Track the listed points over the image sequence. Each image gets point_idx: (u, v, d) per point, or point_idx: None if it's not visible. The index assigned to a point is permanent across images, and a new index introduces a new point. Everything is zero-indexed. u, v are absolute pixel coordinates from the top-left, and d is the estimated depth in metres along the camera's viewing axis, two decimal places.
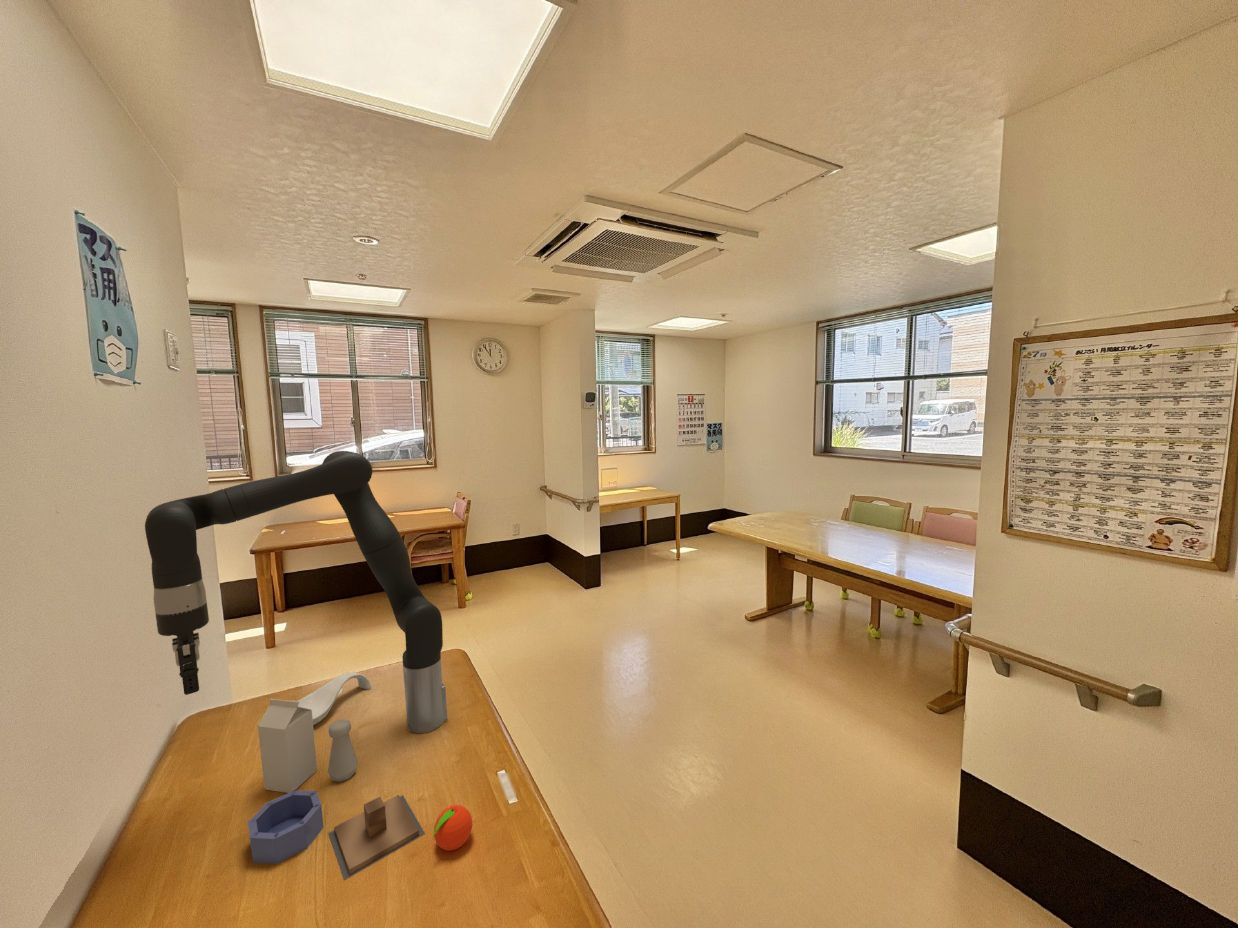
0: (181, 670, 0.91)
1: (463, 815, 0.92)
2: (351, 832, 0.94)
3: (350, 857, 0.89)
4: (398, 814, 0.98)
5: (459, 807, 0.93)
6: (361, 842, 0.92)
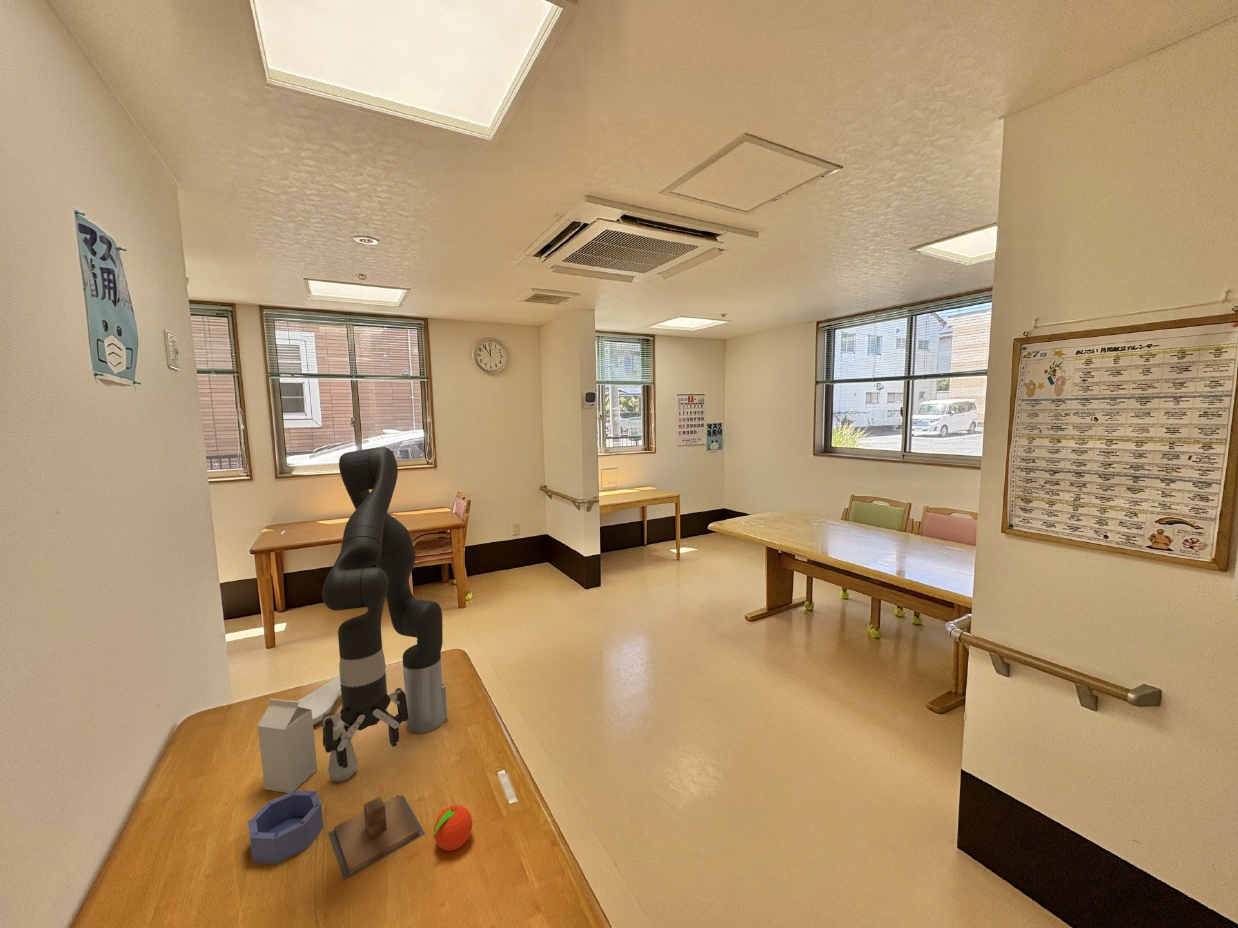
0: None
1: (463, 815, 0.92)
2: (351, 832, 0.94)
3: (350, 857, 0.89)
4: (398, 814, 0.98)
5: (459, 807, 0.93)
6: (361, 842, 0.92)
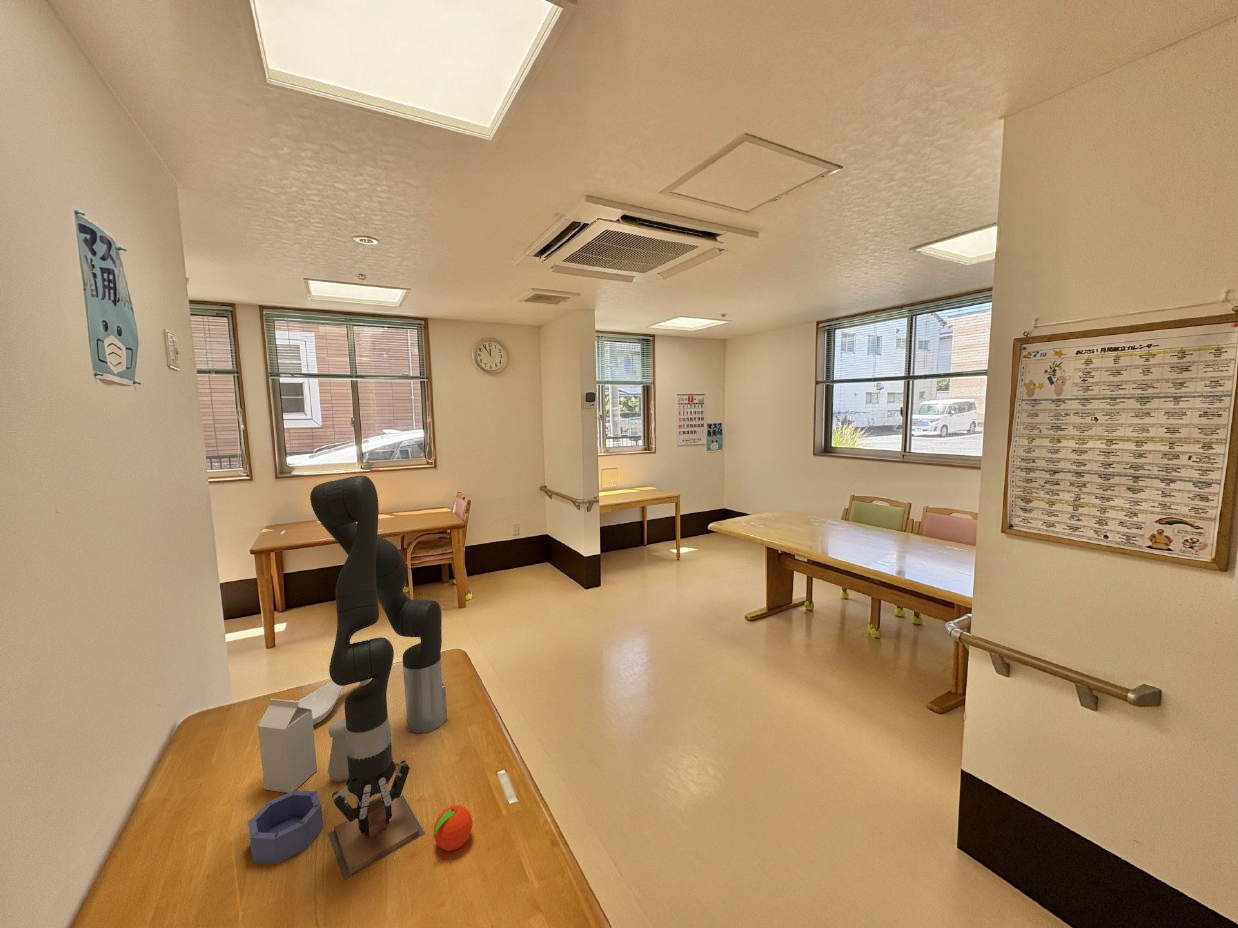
0: None
1: (463, 815, 0.92)
2: (351, 832, 0.94)
3: (350, 857, 0.89)
4: (398, 814, 0.98)
5: (459, 807, 0.93)
6: (361, 842, 0.92)
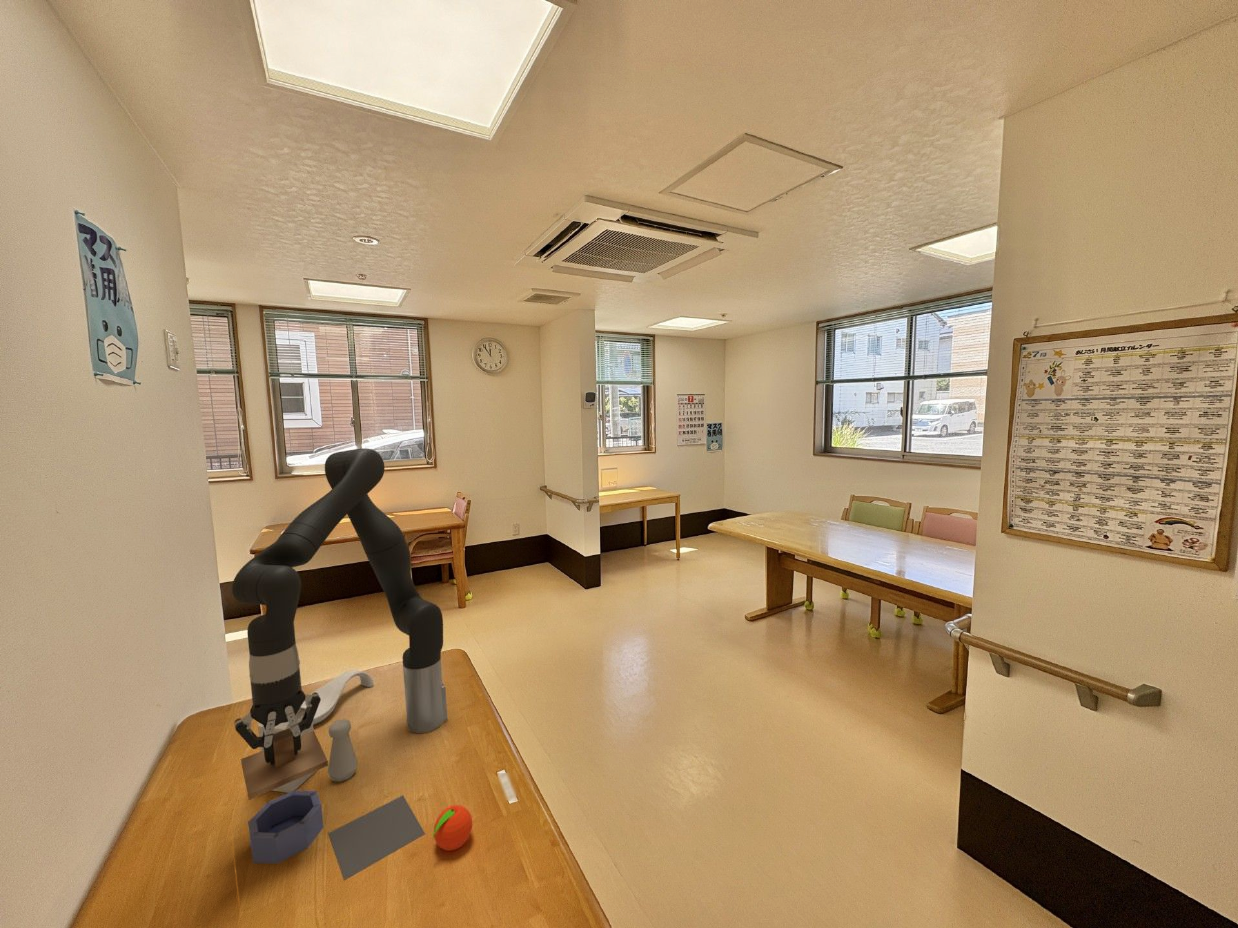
0: None
1: (463, 815, 0.92)
2: (258, 763, 0.92)
3: (251, 784, 0.87)
4: (309, 747, 0.96)
5: (459, 807, 0.93)
6: (266, 771, 0.90)
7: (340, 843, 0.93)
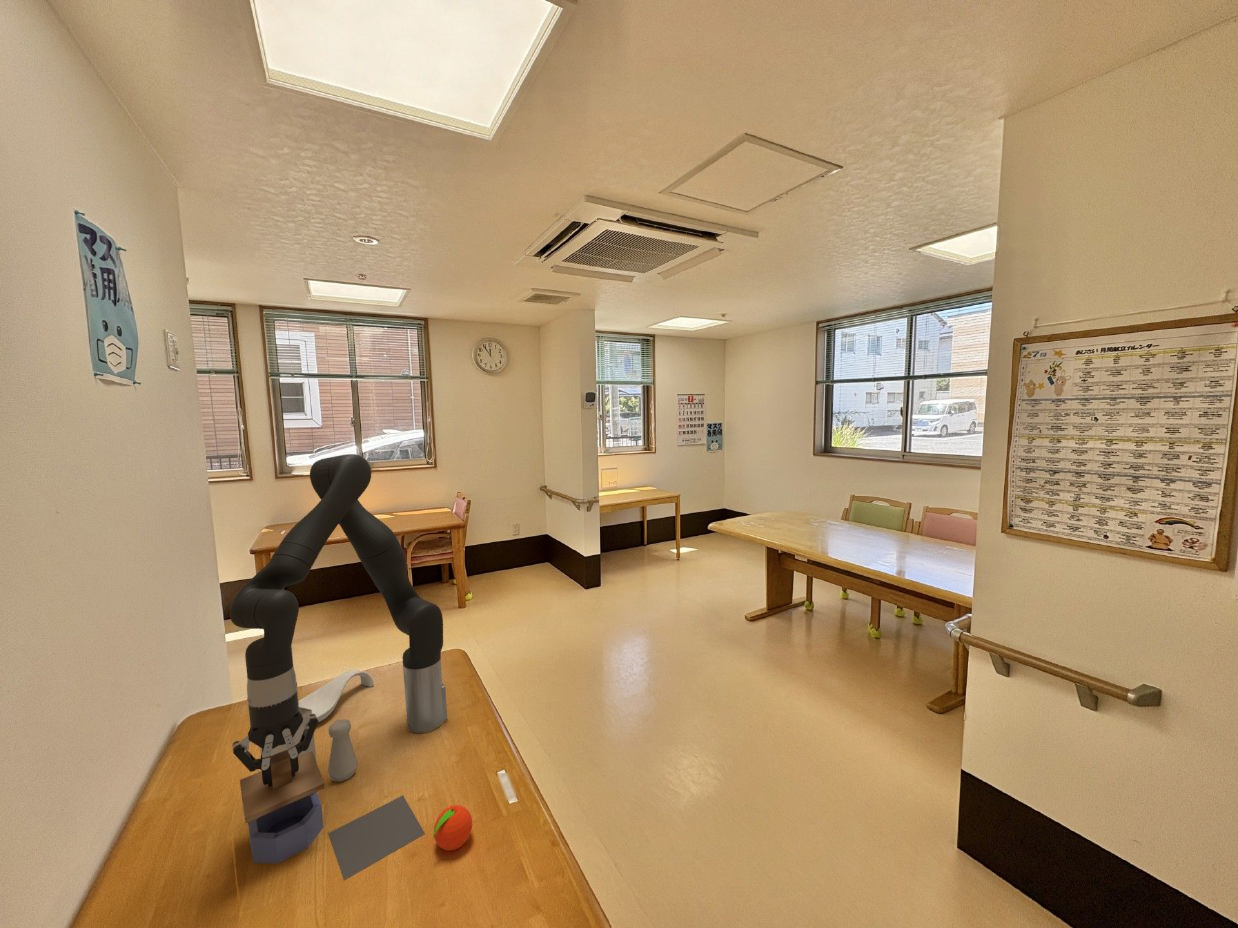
0: None
1: (463, 815, 0.92)
2: (256, 784, 0.93)
3: (248, 807, 0.87)
4: (307, 768, 0.97)
5: (459, 807, 0.93)
6: (263, 793, 0.91)
7: (340, 843, 0.93)
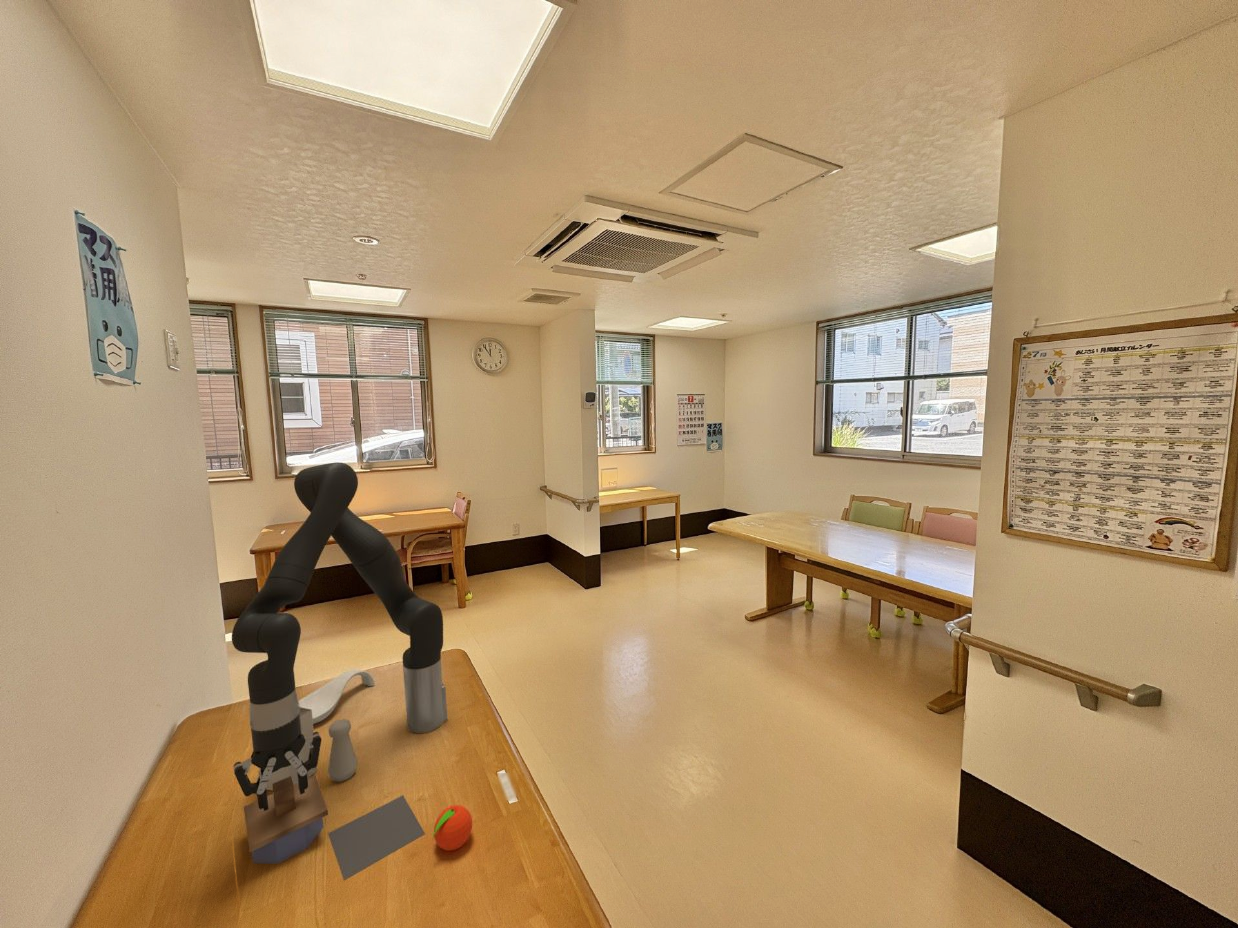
0: None
1: (463, 815, 0.92)
2: (260, 811, 0.93)
3: (253, 835, 0.88)
4: (310, 794, 0.97)
5: (459, 807, 0.93)
6: (267, 821, 0.91)
7: (340, 843, 0.93)
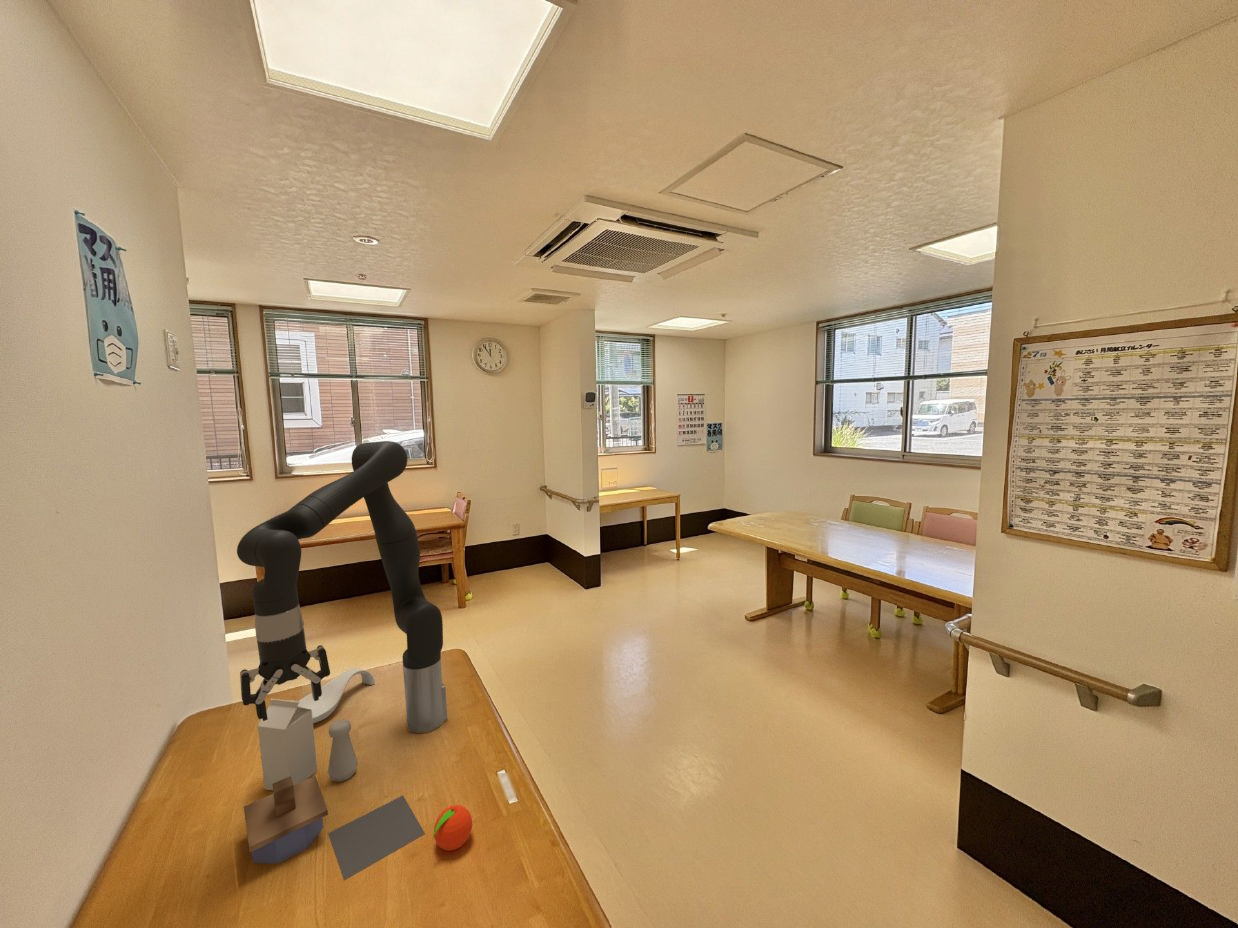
0: None
1: (463, 815, 0.92)
2: (260, 811, 0.93)
3: (253, 835, 0.88)
4: (310, 794, 0.97)
5: (459, 807, 0.93)
6: (267, 821, 0.91)
7: (340, 843, 0.93)
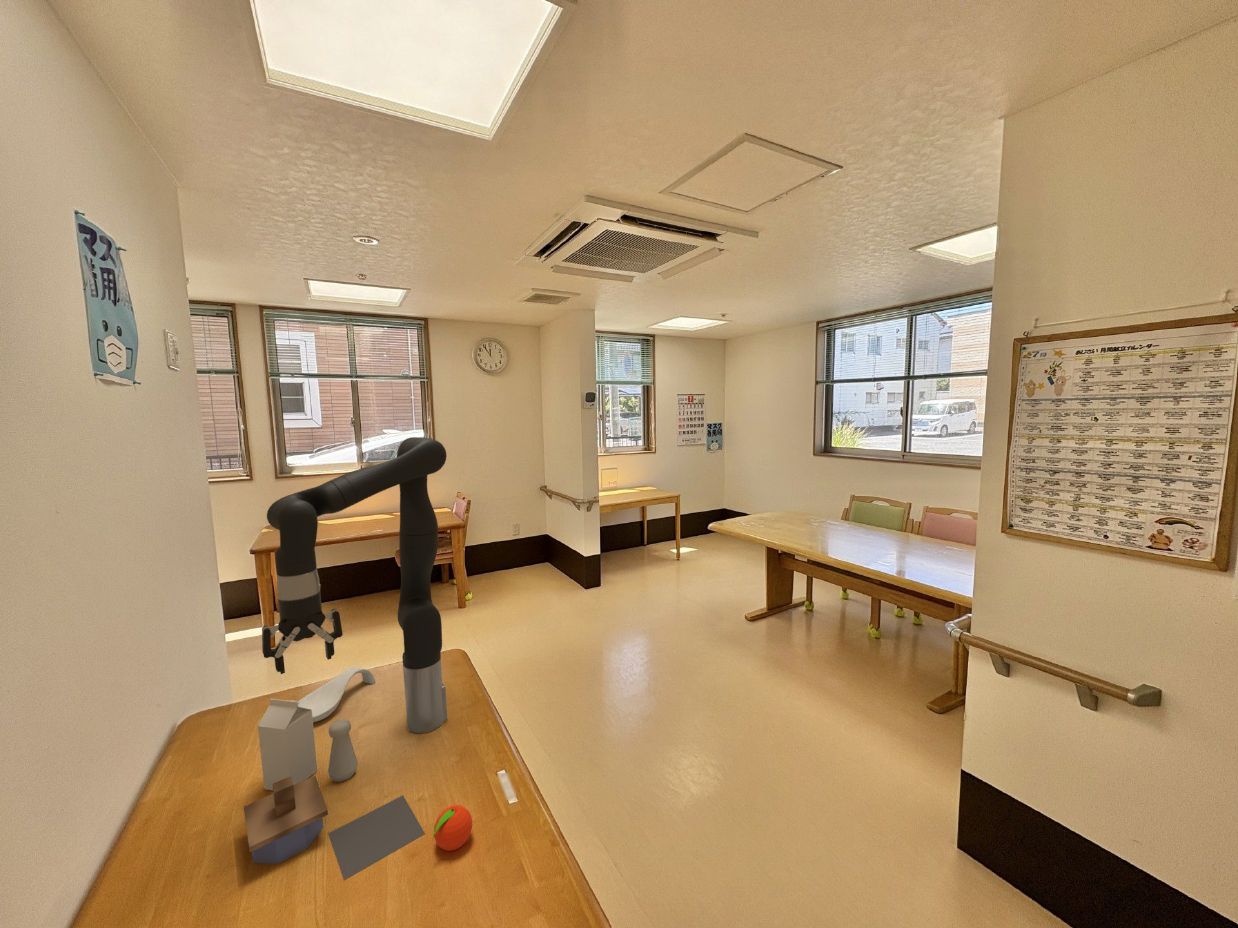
0: None
1: (463, 815, 0.92)
2: (260, 811, 0.93)
3: (253, 835, 0.88)
4: (310, 794, 0.97)
5: (459, 807, 0.93)
6: (267, 821, 0.91)
7: (340, 843, 0.93)
